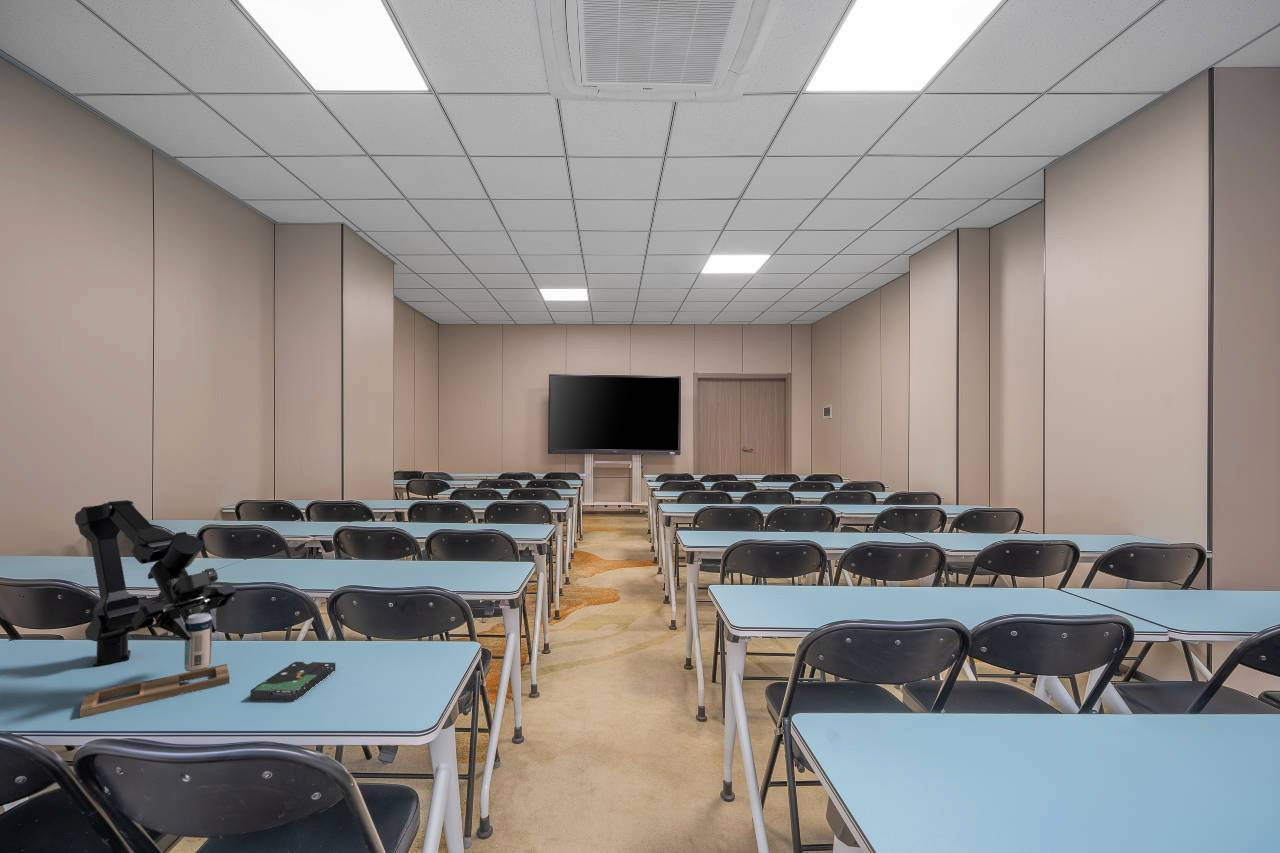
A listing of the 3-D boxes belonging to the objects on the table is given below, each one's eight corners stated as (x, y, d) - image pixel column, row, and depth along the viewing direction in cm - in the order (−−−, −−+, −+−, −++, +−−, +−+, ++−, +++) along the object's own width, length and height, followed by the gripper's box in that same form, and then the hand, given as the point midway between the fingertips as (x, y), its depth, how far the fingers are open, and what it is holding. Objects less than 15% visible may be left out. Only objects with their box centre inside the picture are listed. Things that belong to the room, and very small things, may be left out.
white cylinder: (216, 664, 127) (217, 612, 127) (197, 673, 122) (199, 619, 122) (197, 663, 128) (198, 611, 128) (178, 671, 123) (179, 618, 123)
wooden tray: (85, 701, 116) (85, 693, 116) (226, 670, 132) (226, 663, 132) (79, 718, 109) (79, 710, 110) (229, 683, 125) (229, 676, 125)
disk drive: (293, 673, 132) (249, 702, 117) (293, 661, 132) (249, 689, 117) (336, 673, 132) (297, 703, 117) (336, 661, 132) (297, 690, 117)
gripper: (140, 568, 118) (170, 627, 114) (232, 551, 135) (261, 602, 131) (118, 600, 121) (147, 659, 117) (211, 579, 138) (238, 630, 134)
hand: (202, 635), depth 125 cm, fingers closed on white cylinder, 5 cm apart
